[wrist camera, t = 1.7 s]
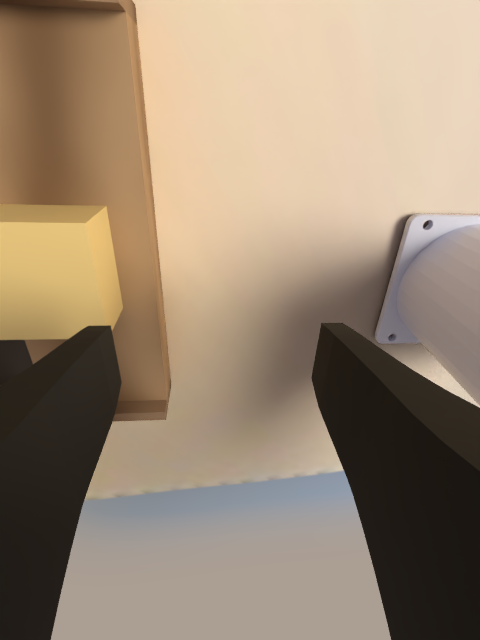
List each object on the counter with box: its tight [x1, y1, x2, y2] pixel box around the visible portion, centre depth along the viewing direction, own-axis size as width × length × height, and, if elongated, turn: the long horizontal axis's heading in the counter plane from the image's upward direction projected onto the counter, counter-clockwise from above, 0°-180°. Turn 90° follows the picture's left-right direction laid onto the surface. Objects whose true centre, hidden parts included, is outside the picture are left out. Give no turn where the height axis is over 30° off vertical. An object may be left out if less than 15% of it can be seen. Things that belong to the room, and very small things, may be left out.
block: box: [0, 204, 123, 340], centre depth 14 cm, size 5×5×3 cm
